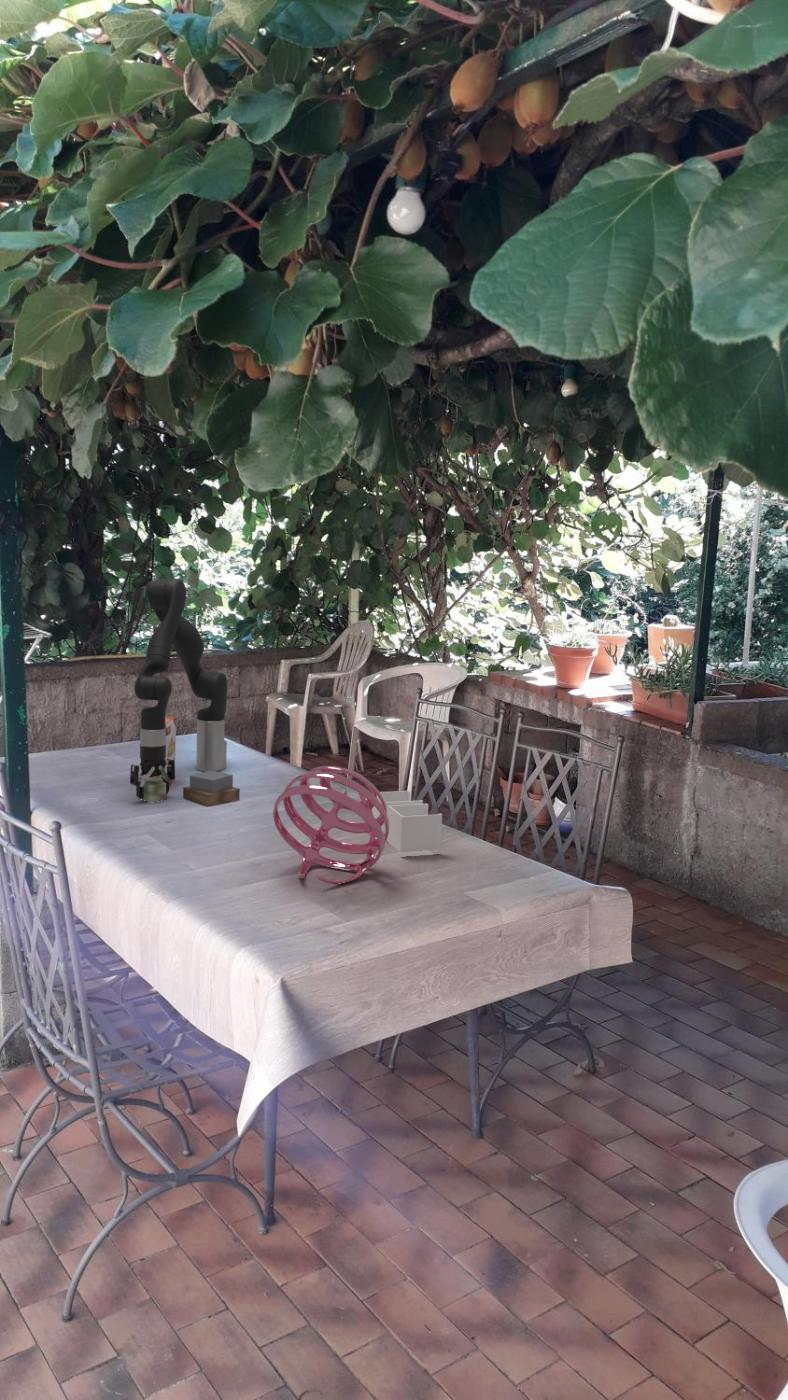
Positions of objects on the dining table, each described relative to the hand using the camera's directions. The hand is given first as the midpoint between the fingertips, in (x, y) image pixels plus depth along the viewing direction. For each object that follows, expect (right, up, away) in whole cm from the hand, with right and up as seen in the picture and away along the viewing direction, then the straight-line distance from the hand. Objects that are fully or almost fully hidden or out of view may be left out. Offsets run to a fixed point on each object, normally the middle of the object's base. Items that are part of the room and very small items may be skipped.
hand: (152, 796), depth 310 cm
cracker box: (-2, +2, +19) cm, 19 cm away
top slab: (+17, +2, +3) cm, 17 cm away
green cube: (0, -1, 0) cm, 1 cm away
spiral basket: (+57, -14, -60) cm, 84 cm away
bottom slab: (+17, -2, +4) cm, 17 cm away
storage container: (+75, -10, -31) cm, 82 cm away
